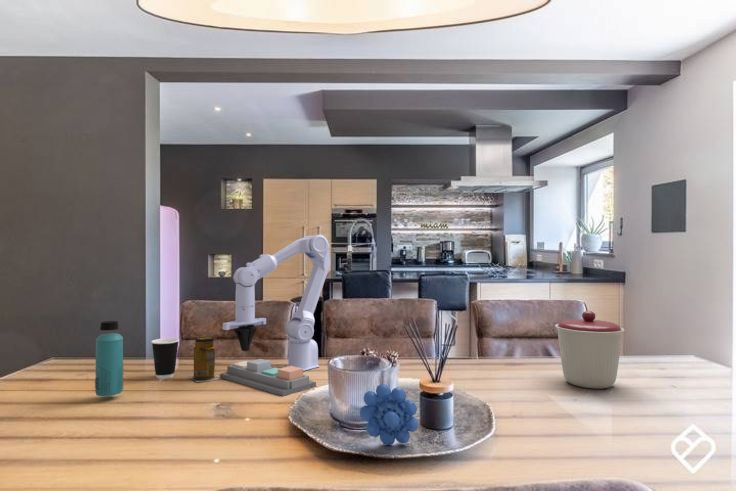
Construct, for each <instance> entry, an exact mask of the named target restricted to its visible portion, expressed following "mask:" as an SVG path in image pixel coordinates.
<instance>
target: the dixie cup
mask: <svg viewBox="0 0 736 491" xmlns="http://www.w3.org/2000/svg"><path fill="white" fill-rule="evenodd" d="M179 342H180V339H179V338H178V337H177V338H176V337H175V338H173V337H166V338H157V339H153V340H151V341H150V343H151V345H152V355H153V362H154V372H155V376H156V378H157V379H160V380H161V379H163V380H164V379H170V378H174V376H175V375H174V374H175V372H176V364H177V356H178V350H179V349H178V347H179Z"/></svg>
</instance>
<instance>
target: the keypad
mask: <svg viewBox="0 0 736 491" xmlns="http://www.w3.org/2000/svg"><path fill="white" fill-rule="evenodd" d="M233 364H234V363H232V364H229V365H227V367H226V368H227V369H226V370H227V372H226V371H225V372H223V373H220V374H219V378H221V379H223V380H227V381H231V382H233V383H236V384H241V385H243V386H247V387H251V388H254V389H257V390H261V391H263V392H268V393H270V394H274V395H277V396H281V397H285V396H288V395H292V394H294V393H295V394H296V393H299V392H302V391H304V390H308V389H312V388H315V387H317V382H316V381H313V380H310V376H309V375H307V374H303V377H302V378H298V379H294V380H291V381H288V380H284V379H280V378H278V375H277V376H269V375H265V374H262V371H261V372H254V371H250V370H247V368H243V369H242V368H238V367H235V366H233ZM272 368H275V367H272V366H271V369H272Z"/></svg>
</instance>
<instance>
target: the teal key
mask: <svg viewBox="0 0 736 491" xmlns="http://www.w3.org/2000/svg"><path fill="white" fill-rule="evenodd" d="M278 369H280V368H279V367H278V368H277V367H274V368H272V369H268V370H264V371H262V374H265V375H269V376H277V375H278Z"/></svg>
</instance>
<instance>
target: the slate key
mask: <svg viewBox="0 0 736 491" xmlns="http://www.w3.org/2000/svg"><path fill="white" fill-rule="evenodd" d="M247 361H248V362H247V370H250V371H254V372H261V371H264V370H268V369H271V367H272V360H268V359H262V358H258V359H254V360H250V361H249V360H247Z"/></svg>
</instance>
